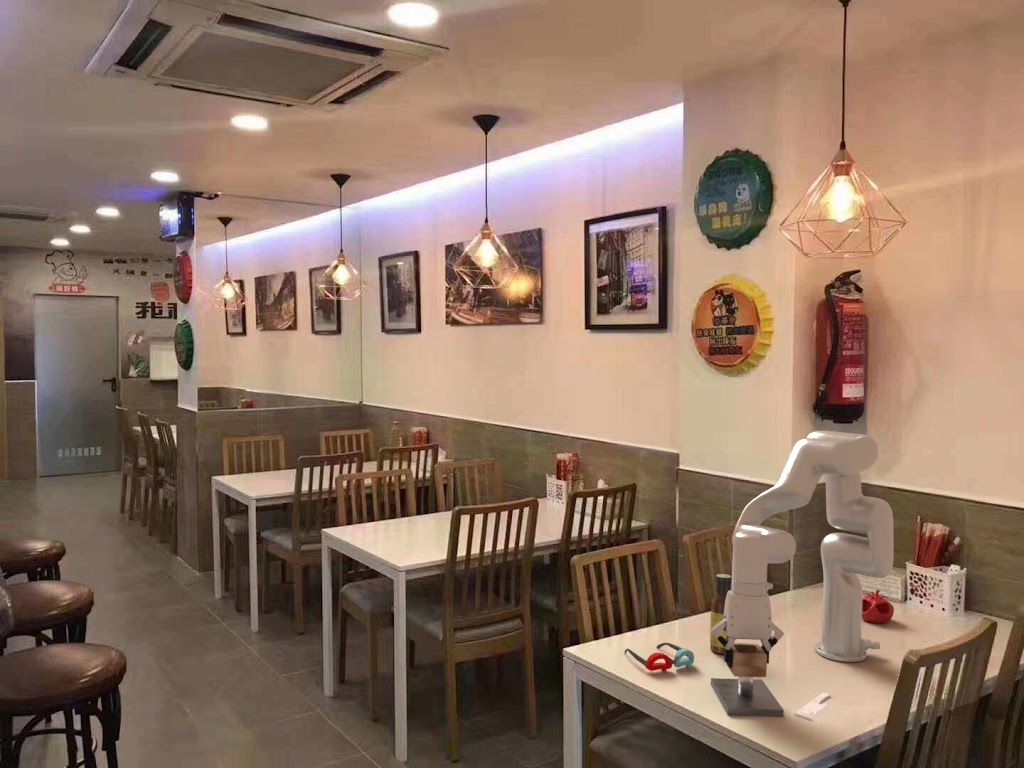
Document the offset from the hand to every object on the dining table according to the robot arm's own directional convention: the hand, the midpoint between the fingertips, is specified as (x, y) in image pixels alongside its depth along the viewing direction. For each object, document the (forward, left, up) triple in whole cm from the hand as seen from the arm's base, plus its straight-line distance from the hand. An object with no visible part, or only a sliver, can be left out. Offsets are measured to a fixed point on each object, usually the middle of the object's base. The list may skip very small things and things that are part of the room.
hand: (746, 665), depth 182 cm
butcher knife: (-16, +3, -9) cm, 18 cm away
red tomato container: (-54, -58, -8) cm, 80 cm away
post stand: (0, 0, -8) cm, 8 cm away
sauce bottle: (-2, -30, -8) cm, 31 cm away
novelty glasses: (+16, -22, -9) cm, 29 cm away
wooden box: (0, 0, -1) cm, 1 cm away
